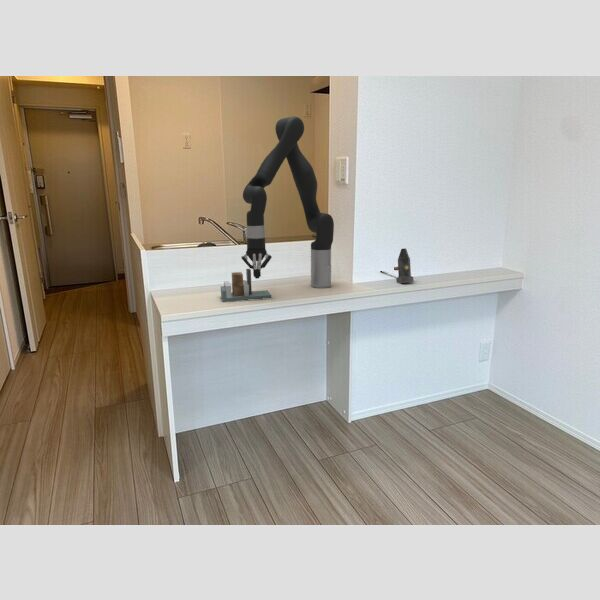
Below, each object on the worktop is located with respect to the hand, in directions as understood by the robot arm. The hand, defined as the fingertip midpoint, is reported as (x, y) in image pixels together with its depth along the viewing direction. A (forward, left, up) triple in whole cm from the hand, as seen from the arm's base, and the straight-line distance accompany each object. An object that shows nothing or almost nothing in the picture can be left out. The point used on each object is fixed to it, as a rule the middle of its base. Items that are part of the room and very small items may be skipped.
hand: (257, 278), depth 195 cm
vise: (+5, +2, -8) cm, 9 cm away
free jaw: (+4, +1, -6) cm, 8 cm away
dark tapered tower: (-60, -43, -8) cm, 74 cm away
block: (+8, +3, -7) cm, 11 cm away
